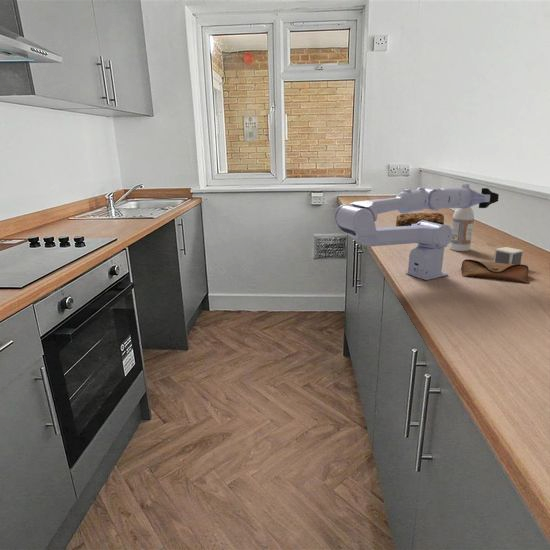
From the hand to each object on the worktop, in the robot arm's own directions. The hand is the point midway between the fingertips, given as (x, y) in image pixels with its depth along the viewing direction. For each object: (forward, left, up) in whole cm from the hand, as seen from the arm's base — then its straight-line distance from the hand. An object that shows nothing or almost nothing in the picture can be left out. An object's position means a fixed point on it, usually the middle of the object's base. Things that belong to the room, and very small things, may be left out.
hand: (486, 197), depth 123 cm
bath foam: (+13, +17, -22) cm, 30 cm away
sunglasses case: (-5, -9, -22) cm, 25 cm away
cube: (+7, -5, -22) cm, 23 cm away
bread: (+18, +41, -22) cm, 50 cm away
